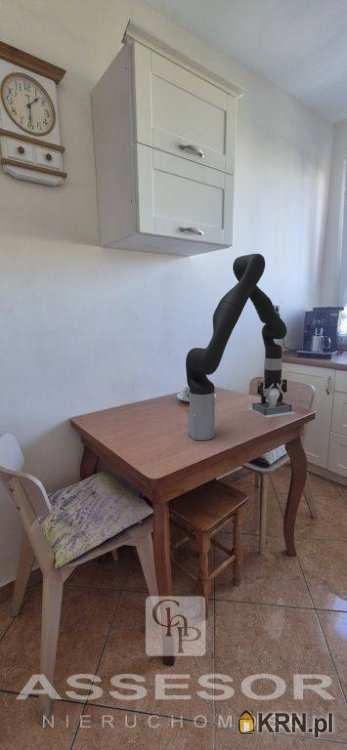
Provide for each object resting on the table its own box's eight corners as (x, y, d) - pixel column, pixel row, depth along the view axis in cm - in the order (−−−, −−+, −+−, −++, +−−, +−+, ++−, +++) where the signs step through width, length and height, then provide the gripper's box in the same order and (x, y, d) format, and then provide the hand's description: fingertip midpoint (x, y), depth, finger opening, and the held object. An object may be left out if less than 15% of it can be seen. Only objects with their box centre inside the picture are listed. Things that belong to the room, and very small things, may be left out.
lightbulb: (263, 410, 146) (262, 387, 144) (270, 407, 150) (270, 385, 148) (275, 413, 142) (274, 389, 140) (282, 409, 146) (282, 386, 144)
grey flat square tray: (267, 418, 137) (267, 410, 136) (248, 408, 151) (248, 401, 150) (296, 413, 142) (296, 406, 141) (275, 404, 155) (275, 398, 155)
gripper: (264, 370, 137) (263, 406, 140) (291, 367, 141) (290, 403, 144) (254, 367, 144) (253, 402, 147) (281, 365, 148) (279, 398, 151)
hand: (271, 402), depth 145 cm, fingers open, 8 cm apart
